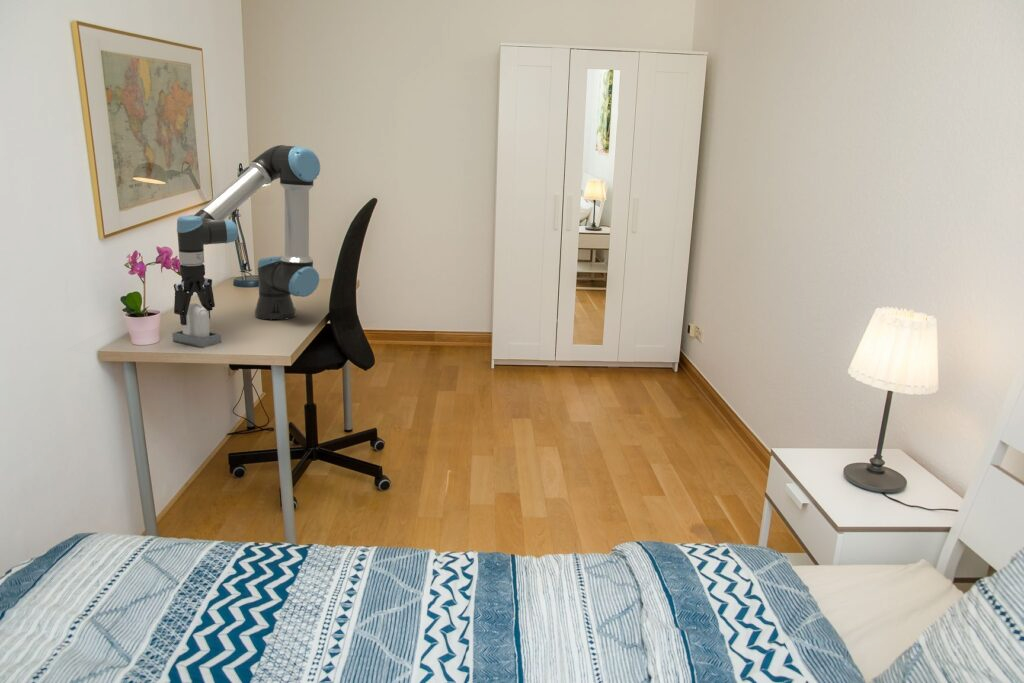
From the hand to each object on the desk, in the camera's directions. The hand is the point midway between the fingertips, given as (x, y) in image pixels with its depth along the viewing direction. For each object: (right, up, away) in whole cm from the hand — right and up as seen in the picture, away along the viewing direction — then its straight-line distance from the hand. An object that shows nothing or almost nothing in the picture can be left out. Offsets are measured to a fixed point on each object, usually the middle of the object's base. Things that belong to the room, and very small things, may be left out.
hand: (196, 331), depth 246 cm
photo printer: (0, -3, +1) cm, 3 cm away
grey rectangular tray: (0, -4, +1) cm, 4 cm away
